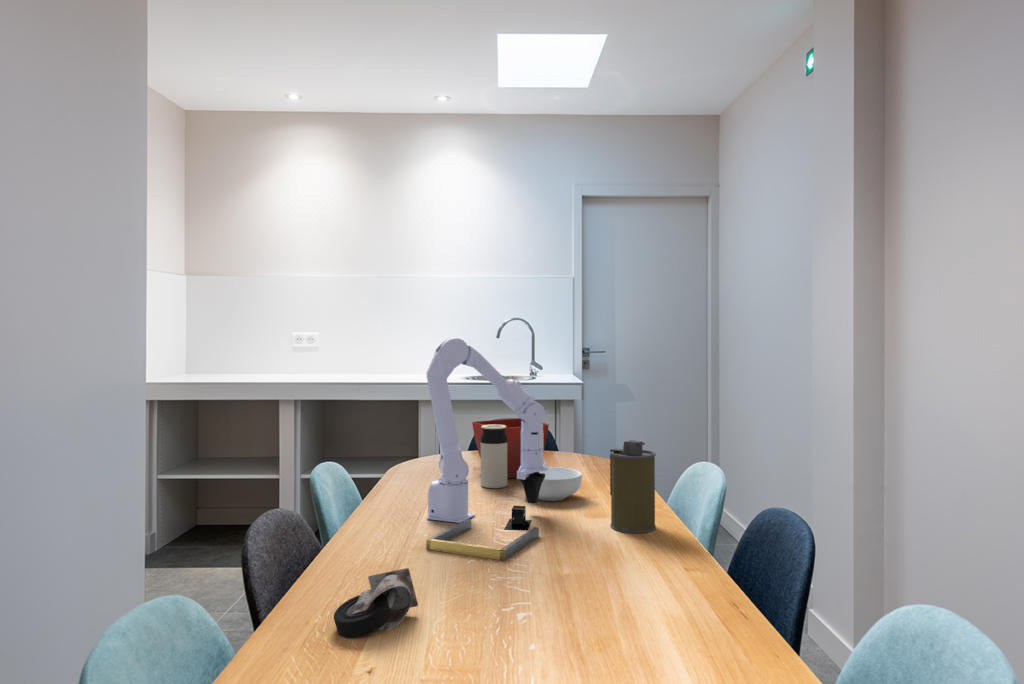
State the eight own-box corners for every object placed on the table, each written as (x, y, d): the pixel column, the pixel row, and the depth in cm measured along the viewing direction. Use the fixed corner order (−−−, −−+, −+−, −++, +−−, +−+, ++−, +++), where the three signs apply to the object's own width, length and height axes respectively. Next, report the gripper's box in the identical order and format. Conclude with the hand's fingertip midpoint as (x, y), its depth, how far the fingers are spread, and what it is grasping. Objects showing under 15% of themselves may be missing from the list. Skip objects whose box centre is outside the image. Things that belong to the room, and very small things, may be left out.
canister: (664, 526, 158) (664, 441, 158) (640, 536, 150) (639, 446, 150) (625, 518, 166) (624, 436, 165) (600, 527, 158) (599, 441, 158)
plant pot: (496, 482, 208) (496, 427, 208) (471, 472, 225) (471, 421, 225) (550, 476, 216) (550, 424, 216) (521, 466, 233) (521, 418, 233)
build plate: (530, 535, 154) (530, 515, 154) (498, 534, 155) (498, 513, 155) (536, 520, 166) (536, 501, 166) (506, 519, 167) (506, 500, 167)
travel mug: (512, 485, 204) (512, 425, 204) (497, 490, 197) (497, 428, 197) (490, 482, 208) (490, 423, 208) (475, 486, 202) (475, 426, 202)
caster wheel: (334, 655, 99) (351, 618, 109) (409, 640, 99) (419, 604, 109) (322, 614, 98) (340, 580, 108) (398, 599, 98) (409, 566, 108)
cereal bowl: (511, 501, 183) (511, 475, 183) (532, 489, 199) (532, 465, 199) (571, 507, 177) (571, 480, 177) (588, 493, 192) (588, 469, 192)
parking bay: (426, 549, 142) (426, 539, 142) (467, 527, 158) (467, 518, 158) (504, 560, 134) (504, 550, 134) (538, 536, 150) (538, 527, 150)
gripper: (535, 454, 162) (535, 511, 162) (557, 445, 175) (557, 498, 175) (509, 452, 165) (509, 508, 165) (531, 444, 178) (532, 495, 178)
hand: (532, 502), depth 170 cm, fingers closed
